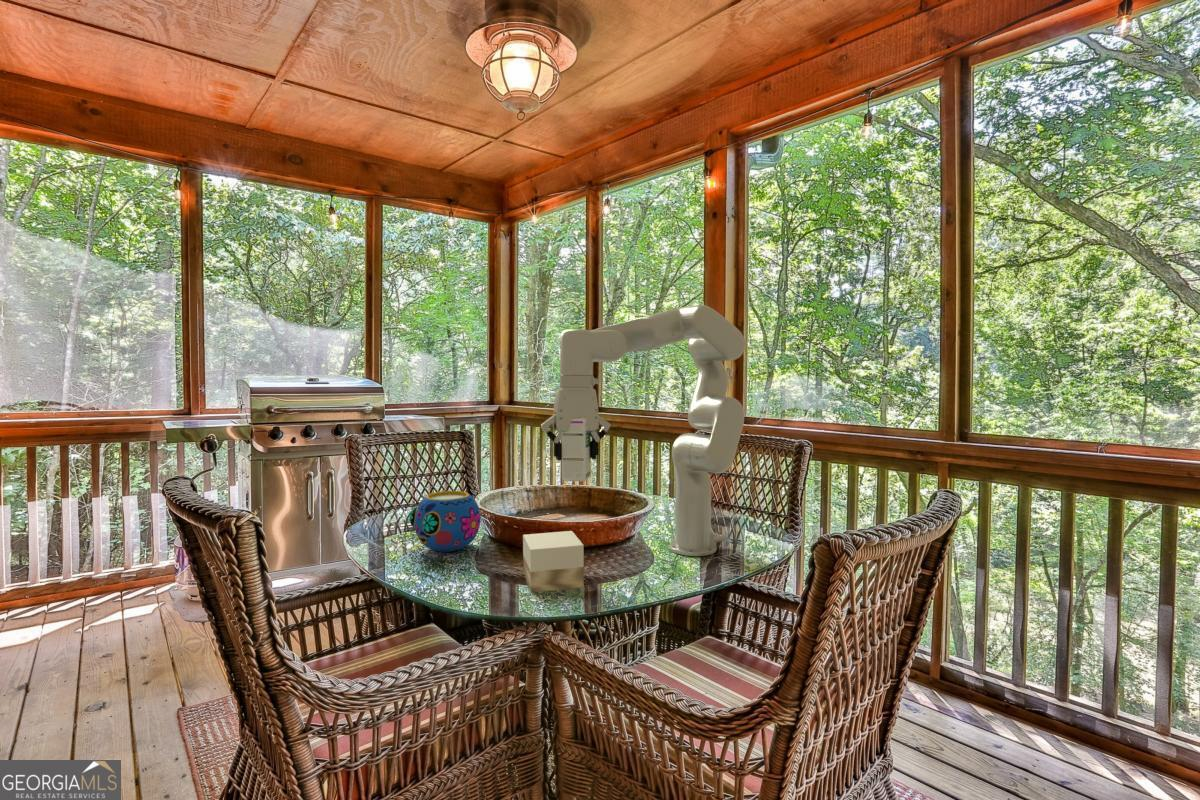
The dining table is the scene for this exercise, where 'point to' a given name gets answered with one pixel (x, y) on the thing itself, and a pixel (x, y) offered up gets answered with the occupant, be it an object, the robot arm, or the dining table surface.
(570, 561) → the tower top slab
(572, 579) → the tower base slab
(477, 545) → the dining table surface
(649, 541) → the dining table surface
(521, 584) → the dining table surface
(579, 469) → the syrup box
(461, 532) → the ceramic pot
